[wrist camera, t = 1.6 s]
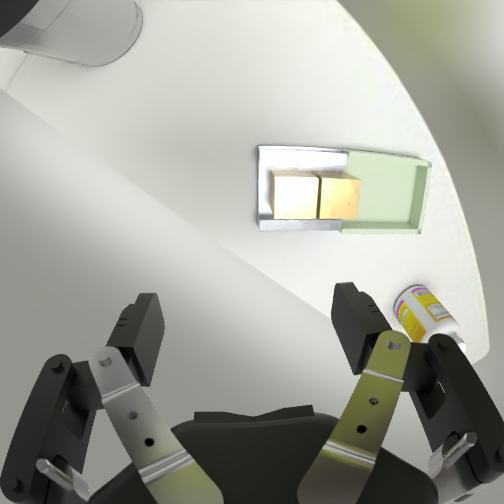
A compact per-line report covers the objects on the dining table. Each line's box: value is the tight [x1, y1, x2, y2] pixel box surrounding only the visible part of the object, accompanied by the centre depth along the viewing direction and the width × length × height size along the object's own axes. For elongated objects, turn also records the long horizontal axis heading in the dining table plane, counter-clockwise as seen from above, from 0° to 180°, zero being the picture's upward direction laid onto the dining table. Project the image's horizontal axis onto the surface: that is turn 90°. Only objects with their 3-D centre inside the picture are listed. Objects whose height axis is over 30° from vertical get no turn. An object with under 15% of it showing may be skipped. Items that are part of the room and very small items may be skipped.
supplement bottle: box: [395, 286, 466, 353], centre depth 33 cm, size 7×7×13 cm
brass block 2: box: [312, 171, 361, 219], centre depth 28 cm, size 4×4×4 cm
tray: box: [339, 149, 432, 234], centre depth 30 cm, size 11×9×3 cm
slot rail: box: [258, 145, 348, 231], centre depth 30 cm, size 9×9×2 cm
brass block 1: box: [270, 170, 318, 219], centre depth 28 cm, size 4×4×4 cm
